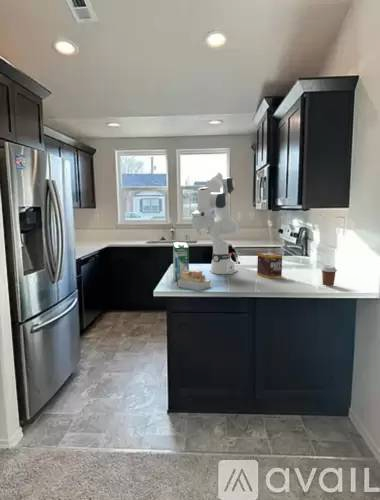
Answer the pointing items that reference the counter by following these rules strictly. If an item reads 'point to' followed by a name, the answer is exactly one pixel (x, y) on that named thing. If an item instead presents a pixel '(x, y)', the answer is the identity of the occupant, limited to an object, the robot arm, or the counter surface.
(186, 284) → the block
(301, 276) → the counter surface
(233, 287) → the counter surface
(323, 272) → the coffee cup
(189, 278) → the beige stepped block
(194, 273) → the salmon pink cube
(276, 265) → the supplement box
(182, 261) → the milk carton
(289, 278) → the counter surface
